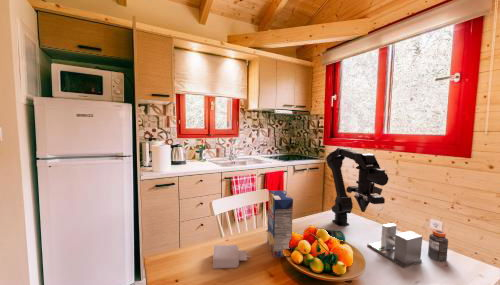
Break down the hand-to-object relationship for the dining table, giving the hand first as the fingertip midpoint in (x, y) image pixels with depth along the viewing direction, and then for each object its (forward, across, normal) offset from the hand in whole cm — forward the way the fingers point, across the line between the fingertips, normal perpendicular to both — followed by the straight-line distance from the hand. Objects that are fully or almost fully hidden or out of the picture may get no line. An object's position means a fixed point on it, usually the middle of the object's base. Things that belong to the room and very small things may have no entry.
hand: (363, 211), depth 104 cm
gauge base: (+13, -14, -4) cm, 20 cm away
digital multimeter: (+14, +4, +16) cm, 21 cm away
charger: (+13, -6, +64) cm, 66 cm away
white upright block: (+11, -13, -3) cm, 18 cm away
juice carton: (+13, -1, +43) cm, 45 cm away
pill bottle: (+13, -20, -20) cm, 31 cm away
